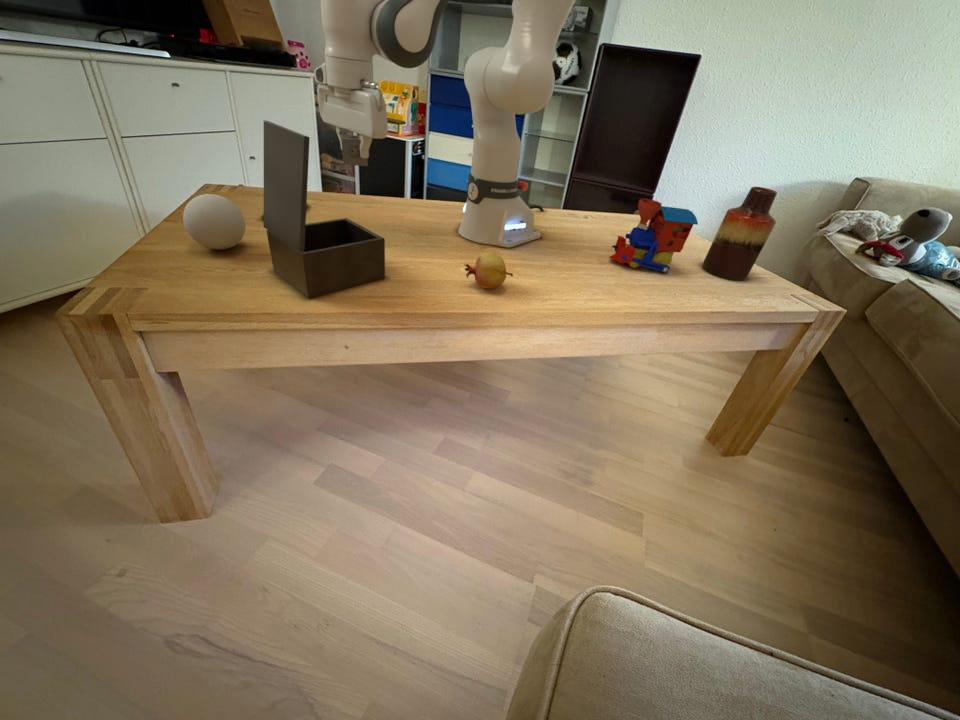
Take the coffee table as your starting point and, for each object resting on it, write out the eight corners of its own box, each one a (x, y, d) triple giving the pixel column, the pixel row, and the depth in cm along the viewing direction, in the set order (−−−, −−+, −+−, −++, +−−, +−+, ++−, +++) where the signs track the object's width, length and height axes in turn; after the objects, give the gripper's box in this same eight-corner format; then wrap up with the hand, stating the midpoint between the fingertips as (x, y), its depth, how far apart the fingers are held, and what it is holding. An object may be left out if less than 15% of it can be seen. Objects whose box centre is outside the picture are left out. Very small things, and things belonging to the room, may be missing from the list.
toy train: (676, 276, 100) (703, 213, 91) (613, 270, 98) (635, 205, 89) (659, 259, 108) (682, 200, 100) (601, 253, 106) (619, 193, 98)
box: (348, 255, 86) (346, 217, 81) (385, 278, 80) (384, 238, 75) (273, 271, 76) (266, 229, 72) (308, 298, 70) (302, 254, 65)
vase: (692, 264, 109) (729, 182, 97) (722, 262, 112) (760, 184, 101) (725, 281, 101) (769, 195, 89) (755, 280, 105) (801, 196, 93)
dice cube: (343, 164, 88) (341, 138, 85) (343, 159, 91) (341, 134, 88) (367, 166, 89) (366, 140, 86) (366, 161, 93) (365, 136, 90)
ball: (196, 260, 76) (179, 204, 70) (187, 241, 82) (172, 188, 76) (255, 253, 81) (245, 201, 75) (243, 236, 87) (233, 186, 81)
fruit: (512, 252, 83) (463, 248, 81) (521, 257, 77) (468, 253, 75) (507, 286, 85) (460, 283, 83) (516, 293, 79) (465, 290, 77)
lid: (268, 121, 64) (263, 120, 63) (309, 137, 58) (304, 136, 57) (268, 227, 72) (263, 227, 71) (304, 251, 65) (299, 251, 65)
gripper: (395, 84, 78) (395, 164, 86) (337, 72, 88) (342, 144, 96) (366, 82, 74) (369, 166, 82) (309, 70, 84) (317, 145, 92)
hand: (354, 154), depth 89 cm, fingers closed on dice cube, 5 cm apart
